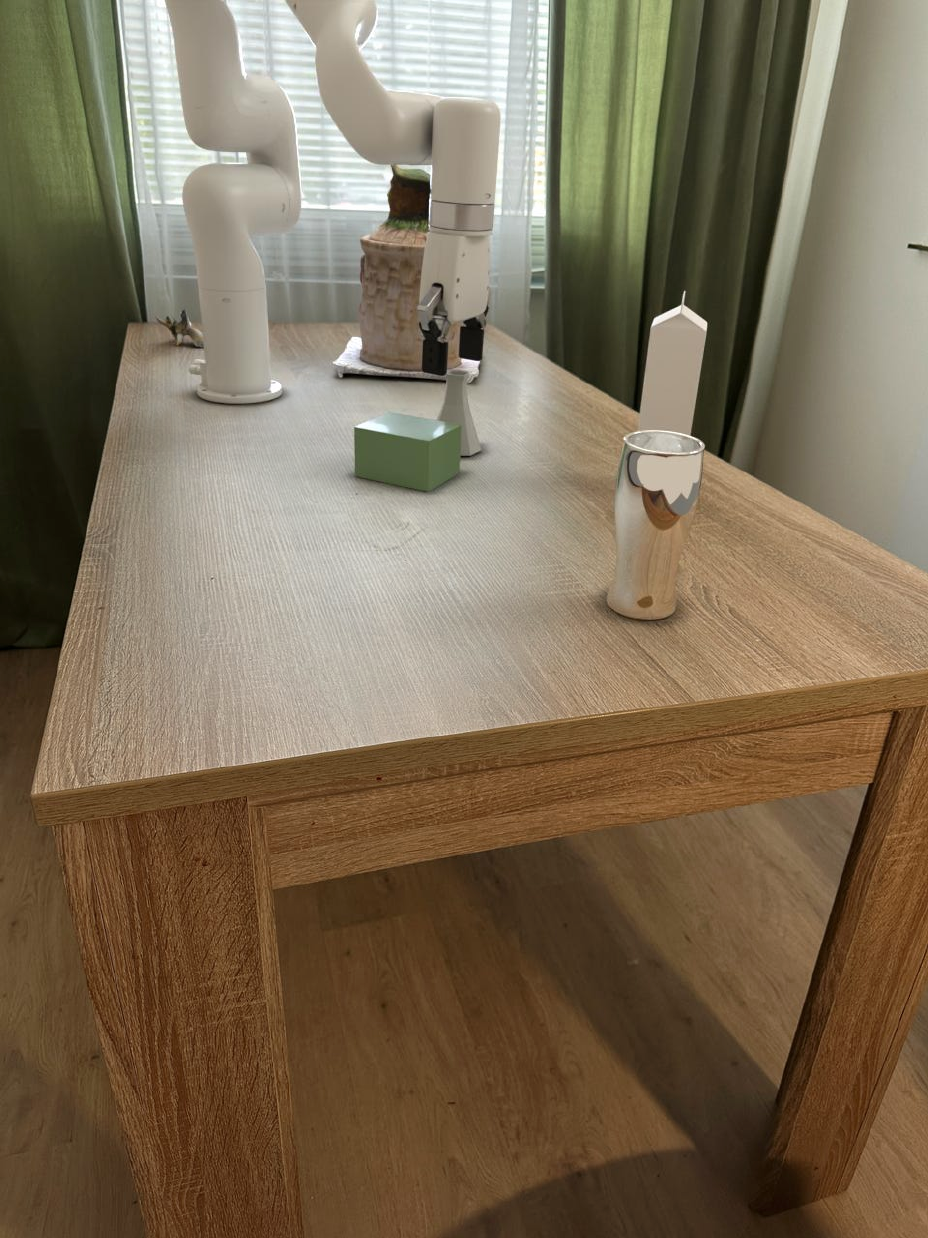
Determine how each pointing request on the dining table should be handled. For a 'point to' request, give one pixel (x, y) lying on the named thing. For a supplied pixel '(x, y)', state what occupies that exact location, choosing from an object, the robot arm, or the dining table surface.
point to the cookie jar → (397, 290)
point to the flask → (459, 410)
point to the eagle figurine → (183, 329)
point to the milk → (672, 371)
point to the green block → (407, 451)
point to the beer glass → (653, 519)
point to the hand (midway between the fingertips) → (452, 366)
